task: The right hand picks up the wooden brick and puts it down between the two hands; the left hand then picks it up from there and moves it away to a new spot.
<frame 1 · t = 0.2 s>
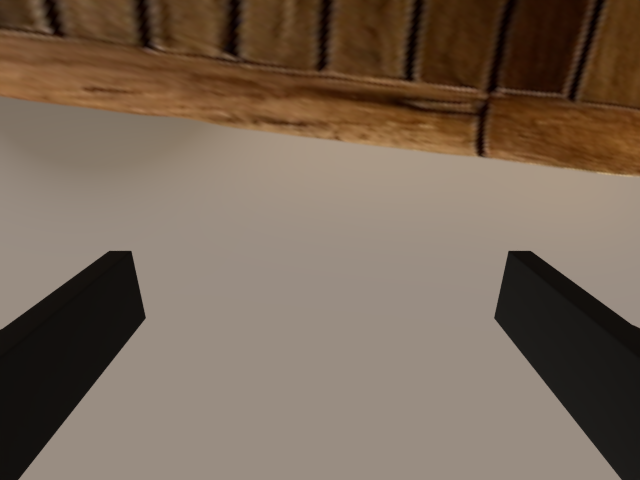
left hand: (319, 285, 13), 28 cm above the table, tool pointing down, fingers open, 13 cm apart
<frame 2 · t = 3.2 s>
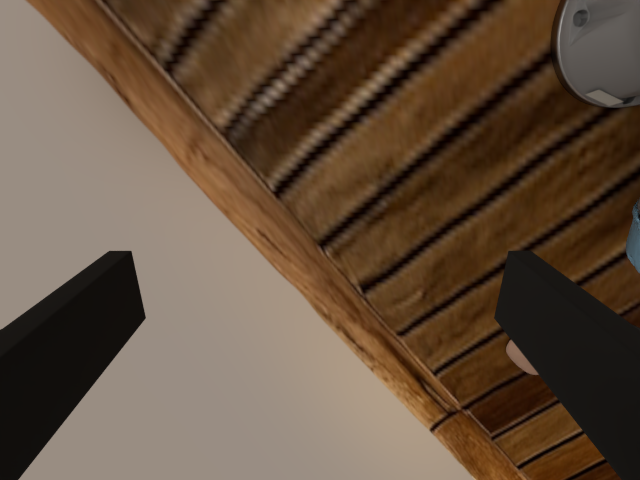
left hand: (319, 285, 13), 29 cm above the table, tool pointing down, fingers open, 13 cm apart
anatomical model: (556, 342, 49), on the table
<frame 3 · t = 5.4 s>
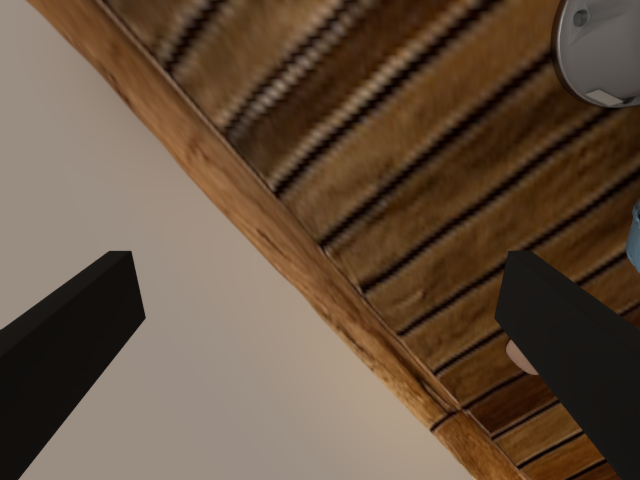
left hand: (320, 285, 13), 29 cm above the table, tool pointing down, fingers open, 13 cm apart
anatomical model: (556, 342, 49), on the table
when the right hand's fingers open (5 cm above the table, at t = 7.5 s): brick drops 1 cm, on the table.
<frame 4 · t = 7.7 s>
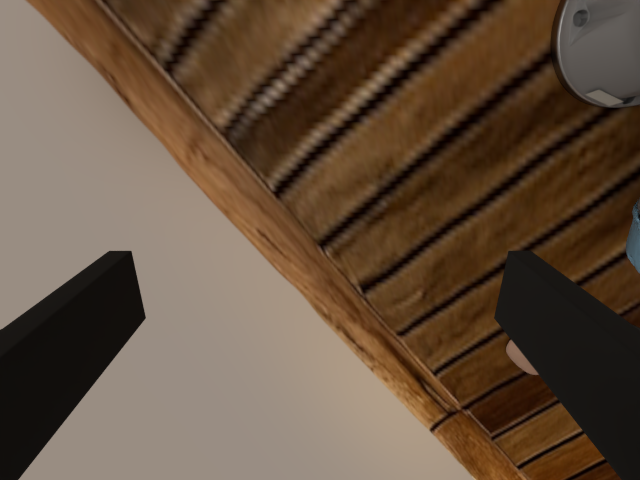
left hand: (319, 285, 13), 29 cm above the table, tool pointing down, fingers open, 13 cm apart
anatomical model: (556, 342, 49), on the table
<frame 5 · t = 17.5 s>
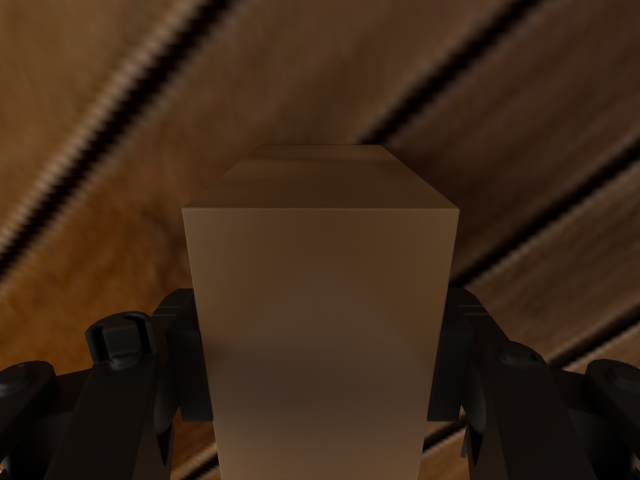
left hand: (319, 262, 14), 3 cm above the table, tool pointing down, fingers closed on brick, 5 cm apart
brick: (320, 230, 18), on the table, touching left hand
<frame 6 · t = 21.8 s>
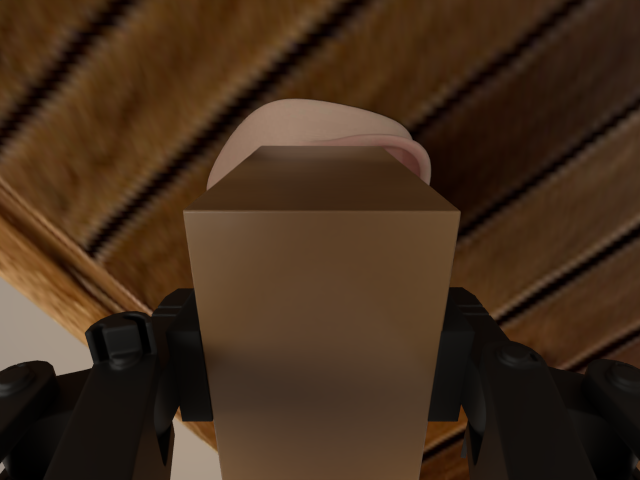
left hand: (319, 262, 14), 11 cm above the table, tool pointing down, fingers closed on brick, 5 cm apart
anatomical model: (311, 184, 24), on the table
brick: (320, 231, 18), point 8 cm above the table, touching left hand
when the left hand's fingers open (5 cm above the table, at t = 26.3 s): brick drops 1 cm, on the table.
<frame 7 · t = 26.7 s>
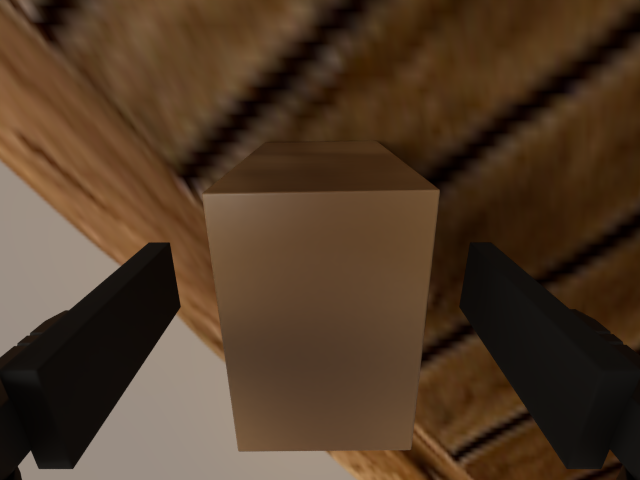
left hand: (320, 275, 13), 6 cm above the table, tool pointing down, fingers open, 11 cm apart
brick: (321, 222, 19), on the table
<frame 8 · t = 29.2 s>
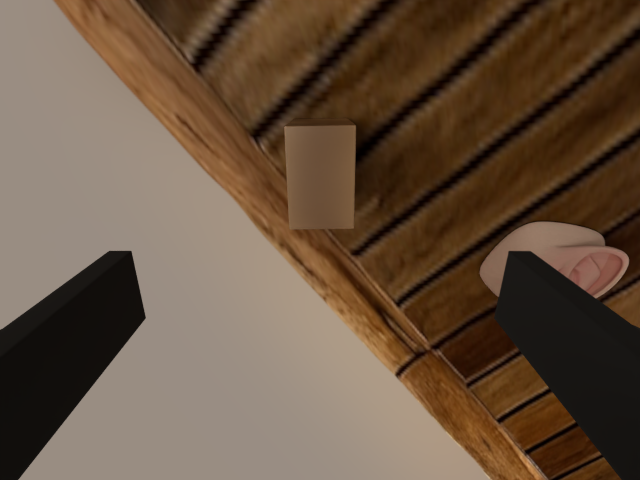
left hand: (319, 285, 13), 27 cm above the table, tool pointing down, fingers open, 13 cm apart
anatomical model: (539, 264, 42), on the table
brick: (320, 159, 38), on the table
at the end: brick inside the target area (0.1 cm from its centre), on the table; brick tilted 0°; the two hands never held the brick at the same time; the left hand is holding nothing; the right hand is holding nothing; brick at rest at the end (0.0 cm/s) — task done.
